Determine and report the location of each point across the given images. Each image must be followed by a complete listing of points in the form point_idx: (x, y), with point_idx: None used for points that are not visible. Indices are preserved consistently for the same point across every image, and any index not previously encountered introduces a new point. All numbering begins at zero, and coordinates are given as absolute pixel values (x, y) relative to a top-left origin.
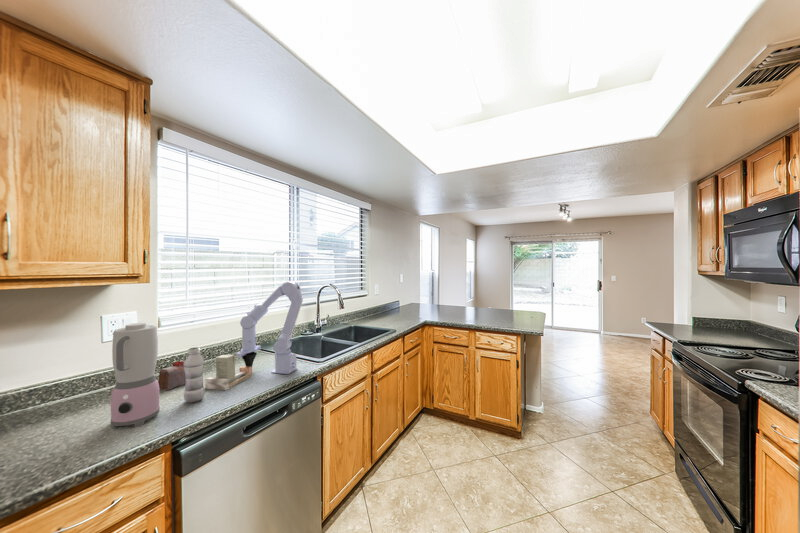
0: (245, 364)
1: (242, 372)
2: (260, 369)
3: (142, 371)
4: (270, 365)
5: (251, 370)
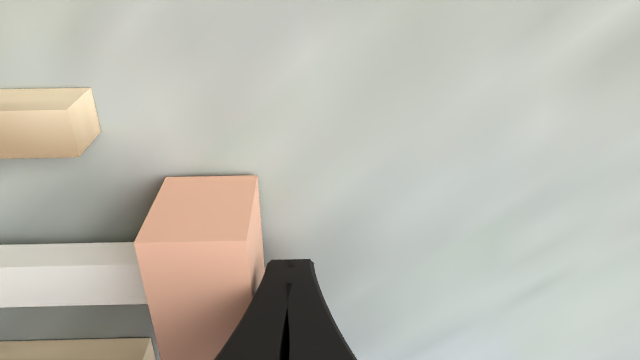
0: (249, 306)
1: (112, 298)
2: (439, 304)
3: None
4: (618, 324)
5: None
